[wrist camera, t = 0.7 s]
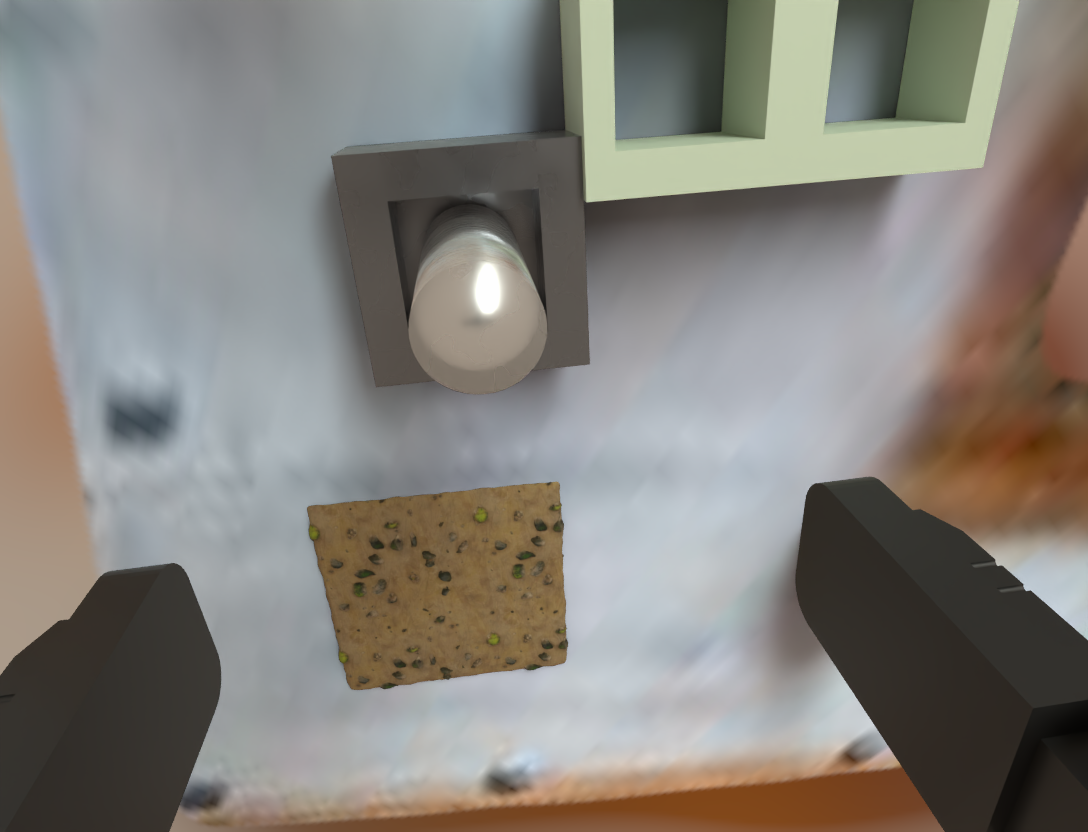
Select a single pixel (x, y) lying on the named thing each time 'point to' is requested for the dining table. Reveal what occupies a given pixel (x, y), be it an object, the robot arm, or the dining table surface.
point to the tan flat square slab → (444, 583)
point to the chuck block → (451, 180)
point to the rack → (793, 101)
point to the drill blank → (475, 304)
